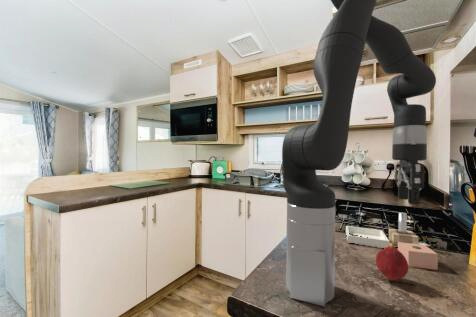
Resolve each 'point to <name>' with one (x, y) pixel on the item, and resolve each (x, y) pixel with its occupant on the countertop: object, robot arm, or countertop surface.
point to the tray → (374, 236)
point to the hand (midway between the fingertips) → (408, 201)
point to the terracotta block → (419, 255)
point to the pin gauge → (402, 223)
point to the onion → (392, 263)
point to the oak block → (402, 237)
